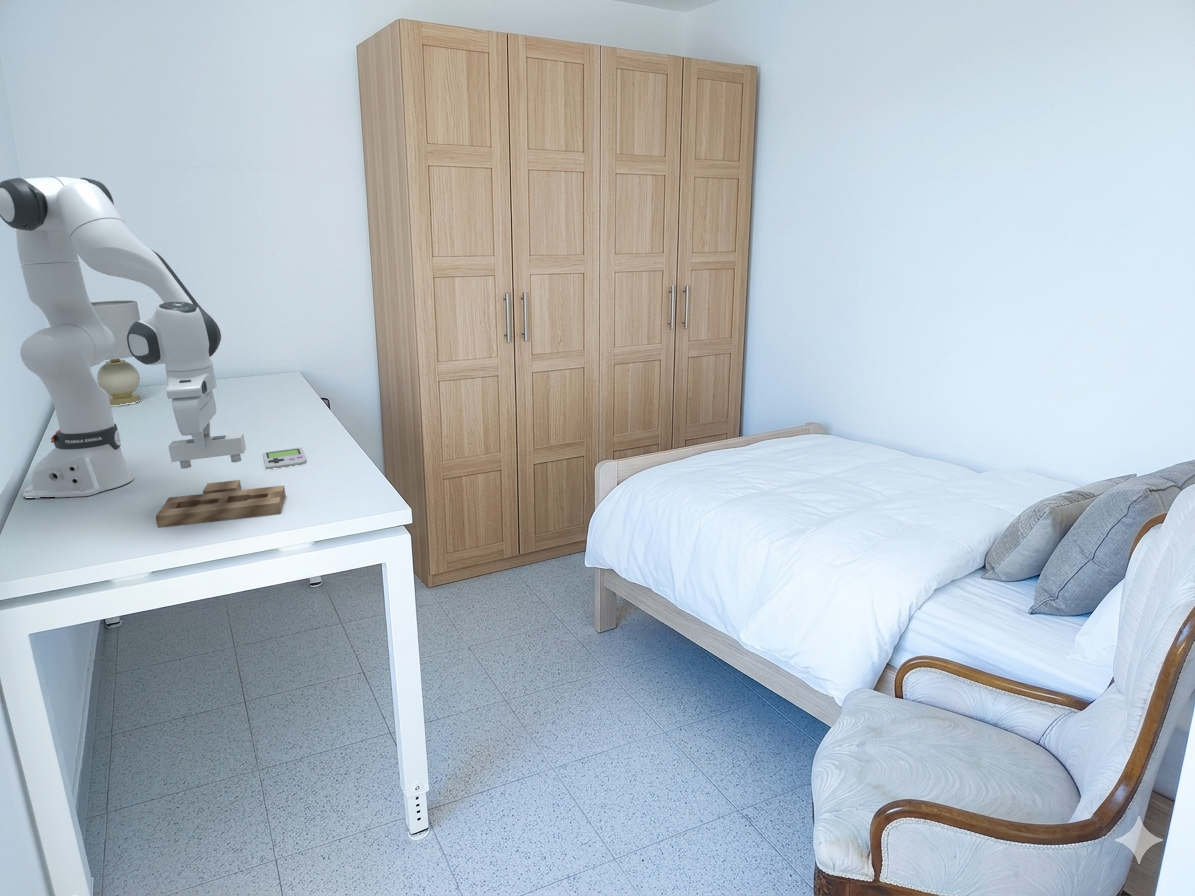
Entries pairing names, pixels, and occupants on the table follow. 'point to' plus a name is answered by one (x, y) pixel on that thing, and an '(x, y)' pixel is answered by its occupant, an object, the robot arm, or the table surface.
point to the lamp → (118, 351)
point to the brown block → (222, 486)
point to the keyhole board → (221, 506)
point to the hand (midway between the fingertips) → (203, 445)
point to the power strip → (208, 449)
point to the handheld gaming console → (284, 458)
